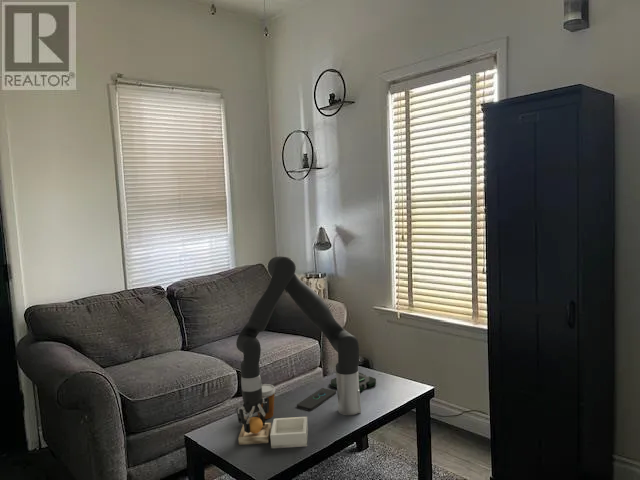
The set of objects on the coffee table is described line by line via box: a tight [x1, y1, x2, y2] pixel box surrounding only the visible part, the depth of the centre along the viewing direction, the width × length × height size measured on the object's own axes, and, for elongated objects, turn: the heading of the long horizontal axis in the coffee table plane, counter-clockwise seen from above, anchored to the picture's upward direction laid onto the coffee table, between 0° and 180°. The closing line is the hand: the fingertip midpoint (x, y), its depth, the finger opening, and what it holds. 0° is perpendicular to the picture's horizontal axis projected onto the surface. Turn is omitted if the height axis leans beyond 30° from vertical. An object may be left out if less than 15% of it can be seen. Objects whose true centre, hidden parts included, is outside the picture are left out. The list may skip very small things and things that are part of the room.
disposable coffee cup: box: [257, 383, 276, 420], centre depth 201 cm, size 10×10×12 cm
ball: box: [249, 416, 263, 433], centre depth 185 cm, size 6×6×6 cm
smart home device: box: [296, 387, 337, 412], centre depth 214 cm, size 8×2×20 cm
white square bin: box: [269, 416, 309, 449], centre depth 182 cm, size 13×13×5 cm
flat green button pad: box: [329, 371, 377, 392], centre depth 228 cm, size 18×18×5 cm
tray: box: [238, 422, 272, 446], centre depth 185 cm, size 11×11×2 cm
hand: (255, 428), depth 185 cm, fingers open, 6 cm apart
